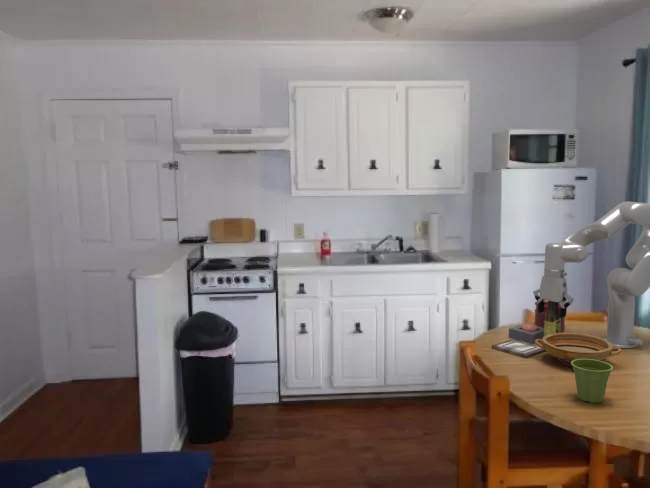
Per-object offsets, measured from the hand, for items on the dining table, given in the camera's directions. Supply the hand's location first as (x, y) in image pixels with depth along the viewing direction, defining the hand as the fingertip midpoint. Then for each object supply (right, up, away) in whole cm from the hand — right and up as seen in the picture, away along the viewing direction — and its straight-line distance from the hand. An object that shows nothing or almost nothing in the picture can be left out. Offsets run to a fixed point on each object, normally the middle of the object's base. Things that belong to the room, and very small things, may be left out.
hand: (551, 314), depth 225 cm
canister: (+9, -10, +24) cm, 28 cm away
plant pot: (-9, -20, -51) cm, 56 cm away
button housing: (-5, -12, +12) cm, 18 cm away
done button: (-5, -9, +12) cm, 16 cm away
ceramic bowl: (+2, -16, -18) cm, 24 cm away
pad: (-14, -14, -3) cm, 20 cm away
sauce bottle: (+1, -13, +2) cm, 13 cm away
